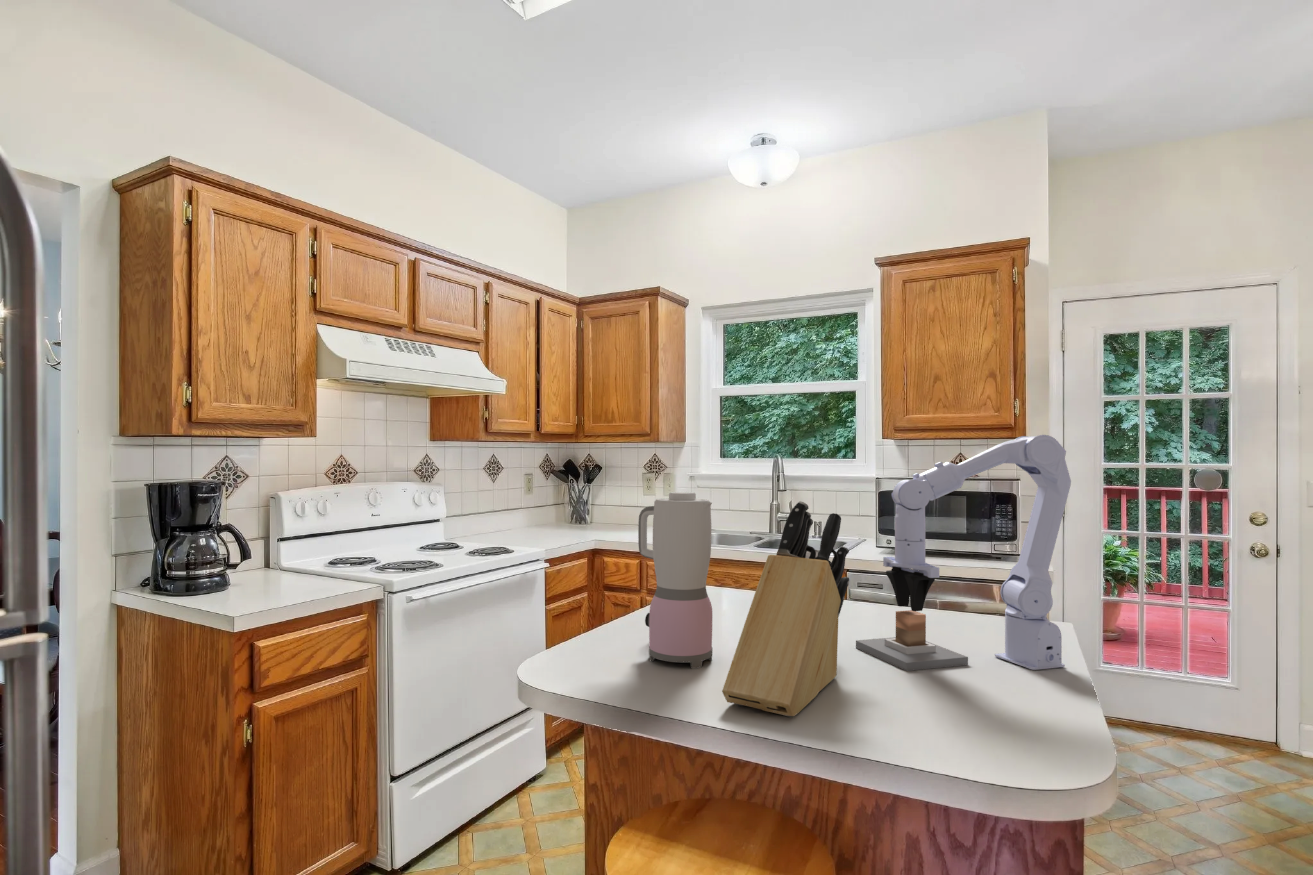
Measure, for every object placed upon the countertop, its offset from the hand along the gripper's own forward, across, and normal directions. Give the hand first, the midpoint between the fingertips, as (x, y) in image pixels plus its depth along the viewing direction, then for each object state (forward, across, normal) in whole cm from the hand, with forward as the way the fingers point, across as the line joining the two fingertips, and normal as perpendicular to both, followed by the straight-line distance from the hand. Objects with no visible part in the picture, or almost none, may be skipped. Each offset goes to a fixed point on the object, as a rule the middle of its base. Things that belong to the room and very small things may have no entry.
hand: (909, 608), depth 137 cm
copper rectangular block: (+8, 0, 0) cm, 8 cm away
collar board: (+9, 0, 0) cm, 9 cm away
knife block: (+10, +10, -31) cm, 34 cm away
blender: (+10, -11, -46) cm, 48 cm away
